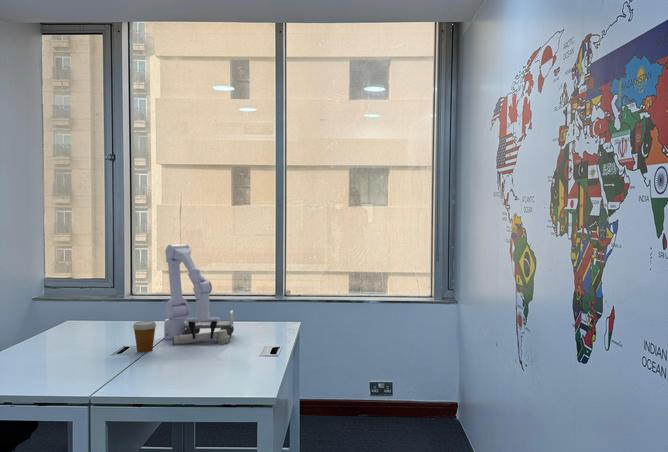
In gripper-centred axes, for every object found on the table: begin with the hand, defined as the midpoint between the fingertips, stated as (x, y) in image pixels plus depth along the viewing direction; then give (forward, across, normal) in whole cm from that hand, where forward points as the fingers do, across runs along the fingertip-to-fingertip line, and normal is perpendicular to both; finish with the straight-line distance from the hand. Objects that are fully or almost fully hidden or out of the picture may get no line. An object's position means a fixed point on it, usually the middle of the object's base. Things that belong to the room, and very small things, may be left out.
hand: (203, 338), depth 254 cm
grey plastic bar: (+3, -1, +3) cm, 4 cm away
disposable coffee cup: (+3, -23, -10) cm, 25 cm away
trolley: (+3, +1, +12) cm, 13 cm away
